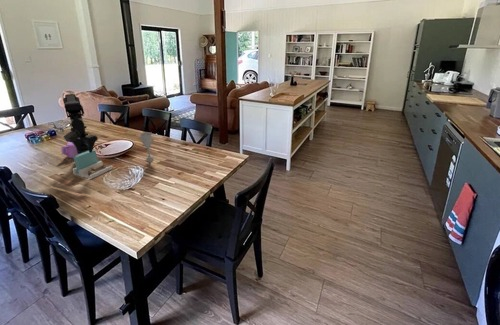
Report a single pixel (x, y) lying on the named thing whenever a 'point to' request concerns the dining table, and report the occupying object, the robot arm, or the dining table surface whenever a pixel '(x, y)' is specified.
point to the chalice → (147, 143)
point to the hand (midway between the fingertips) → (85, 151)
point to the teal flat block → (85, 159)
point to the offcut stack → (96, 169)
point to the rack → (85, 170)
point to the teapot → (69, 150)
